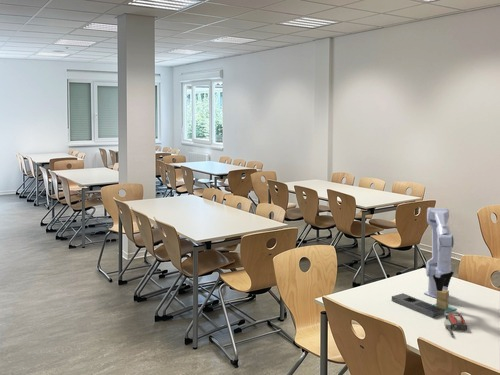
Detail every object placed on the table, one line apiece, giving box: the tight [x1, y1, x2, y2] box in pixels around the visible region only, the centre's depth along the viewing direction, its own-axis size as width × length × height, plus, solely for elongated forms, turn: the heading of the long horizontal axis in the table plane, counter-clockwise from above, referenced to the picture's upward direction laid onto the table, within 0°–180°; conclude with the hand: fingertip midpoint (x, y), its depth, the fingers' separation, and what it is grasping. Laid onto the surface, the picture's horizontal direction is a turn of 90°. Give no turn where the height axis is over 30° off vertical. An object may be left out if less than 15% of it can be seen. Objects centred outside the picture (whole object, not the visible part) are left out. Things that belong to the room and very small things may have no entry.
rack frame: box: [391, 292, 446, 319], centre depth 229 cm, size 8×24×2 cm, turn 32°
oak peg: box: [435, 289, 450, 309], centre depth 228 cm, size 4×4×8 cm
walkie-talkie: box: [443, 312, 469, 336], centre depth 207 cm, size 9×4×20 cm
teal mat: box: [432, 303, 457, 314], centre depth 228 cm, size 9×9×1 cm
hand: (442, 288), depth 227 cm, fingers open, 7 cm apart
